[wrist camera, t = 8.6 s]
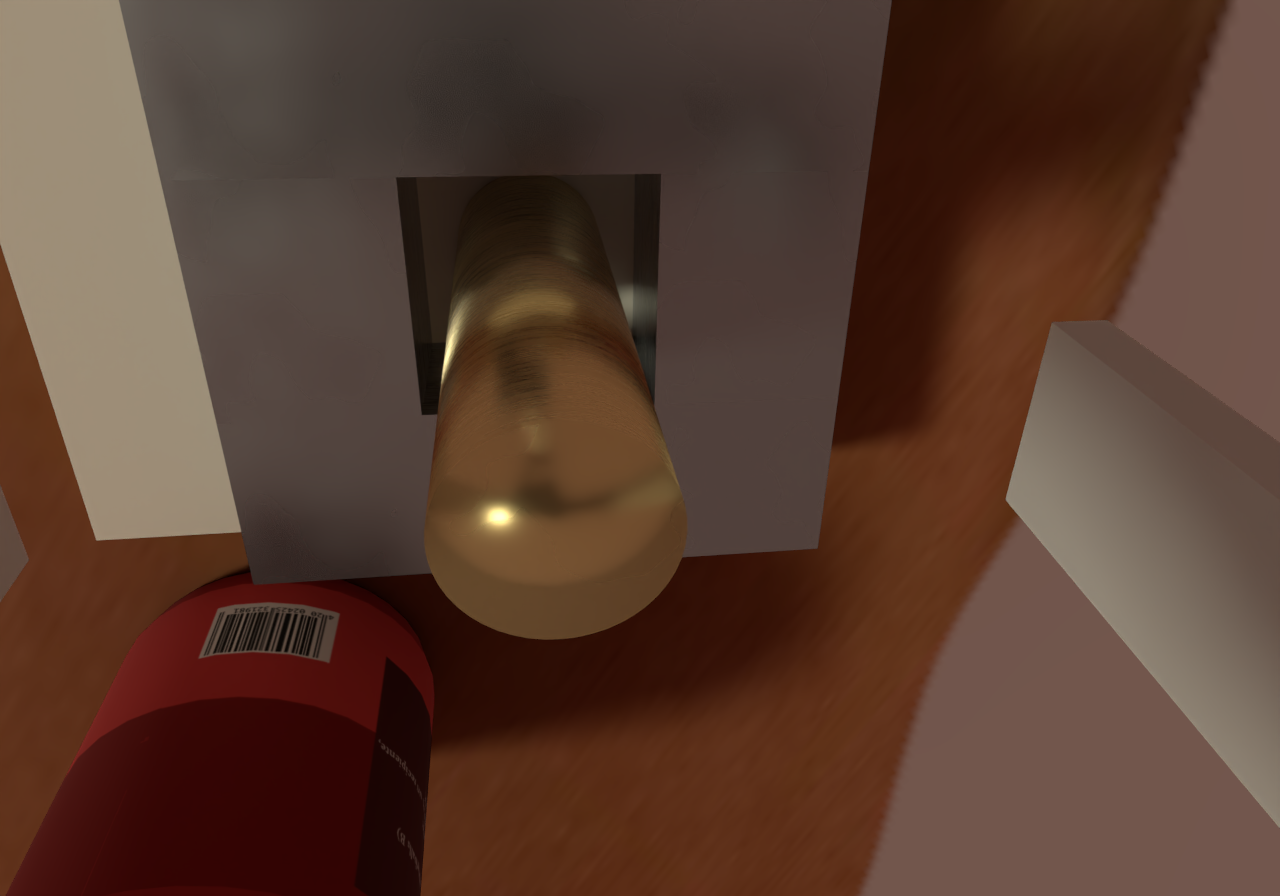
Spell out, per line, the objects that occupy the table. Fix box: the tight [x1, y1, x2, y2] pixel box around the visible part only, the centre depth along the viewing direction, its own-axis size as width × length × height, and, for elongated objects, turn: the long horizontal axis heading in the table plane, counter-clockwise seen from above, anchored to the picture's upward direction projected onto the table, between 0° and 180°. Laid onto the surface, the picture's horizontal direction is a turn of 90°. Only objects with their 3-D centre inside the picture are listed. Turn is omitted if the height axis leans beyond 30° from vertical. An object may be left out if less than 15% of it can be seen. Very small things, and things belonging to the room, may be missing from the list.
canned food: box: [6, 572, 435, 896], centre depth 21 cm, size 8×8×11 cm
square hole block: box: [119, 0, 892, 585], centre depth 19 cm, size 12×12×4 cm
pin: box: [424, 175, 687, 640], centre depth 16 cm, size 3×3×11 cm
